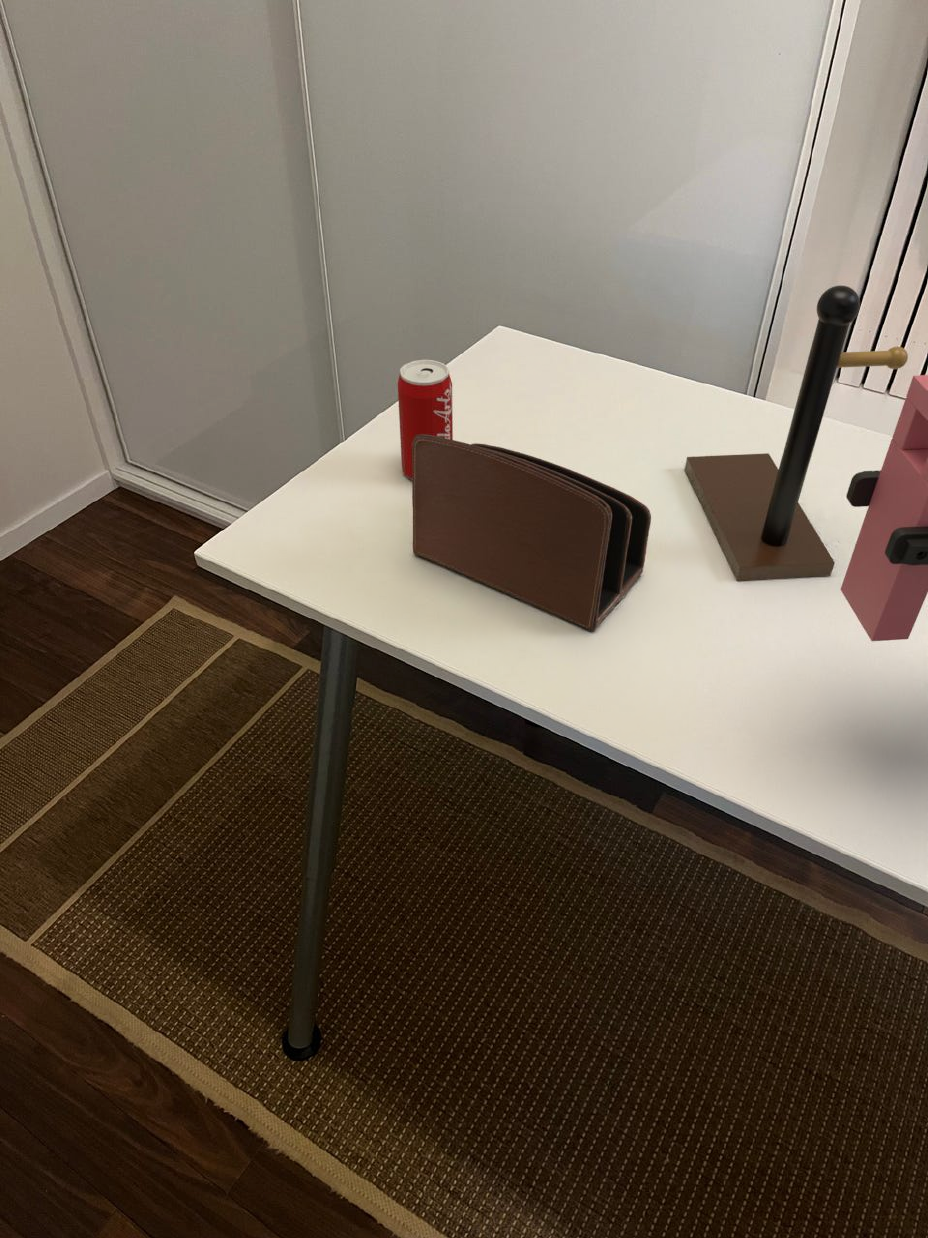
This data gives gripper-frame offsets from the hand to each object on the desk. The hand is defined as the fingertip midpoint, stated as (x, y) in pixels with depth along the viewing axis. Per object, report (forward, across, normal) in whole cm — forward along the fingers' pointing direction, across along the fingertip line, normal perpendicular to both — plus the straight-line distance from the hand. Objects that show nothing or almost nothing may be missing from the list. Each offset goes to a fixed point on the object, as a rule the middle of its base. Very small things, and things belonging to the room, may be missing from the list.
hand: (871, 517), depth 58 cm
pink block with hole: (-3, 0, +8) cm, 8 cm away
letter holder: (+17, -24, +22) cm, 37 cm away
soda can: (+26, -41, +22) cm, 53 cm away
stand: (-8, -30, +21) cm, 38 cm away
